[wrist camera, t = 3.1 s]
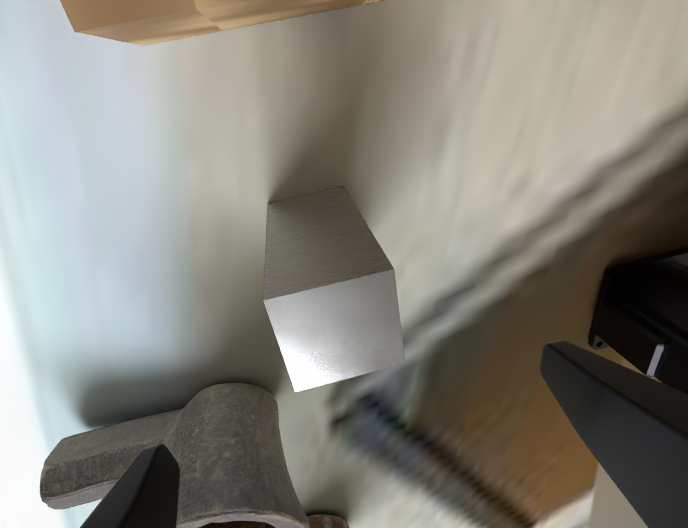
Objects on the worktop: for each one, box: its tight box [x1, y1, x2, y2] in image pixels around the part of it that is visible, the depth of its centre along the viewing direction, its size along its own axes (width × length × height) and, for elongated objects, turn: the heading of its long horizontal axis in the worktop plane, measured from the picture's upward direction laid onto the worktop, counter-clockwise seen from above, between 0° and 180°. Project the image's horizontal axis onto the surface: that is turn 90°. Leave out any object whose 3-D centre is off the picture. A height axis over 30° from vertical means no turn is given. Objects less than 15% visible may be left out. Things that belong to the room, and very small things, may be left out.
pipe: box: [40, 383, 310, 528], centre depth 18 cm, size 6×13×8 cm, turn 95°
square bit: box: [263, 186, 405, 392], centre depth 14 cm, size 4×4×8 cm
